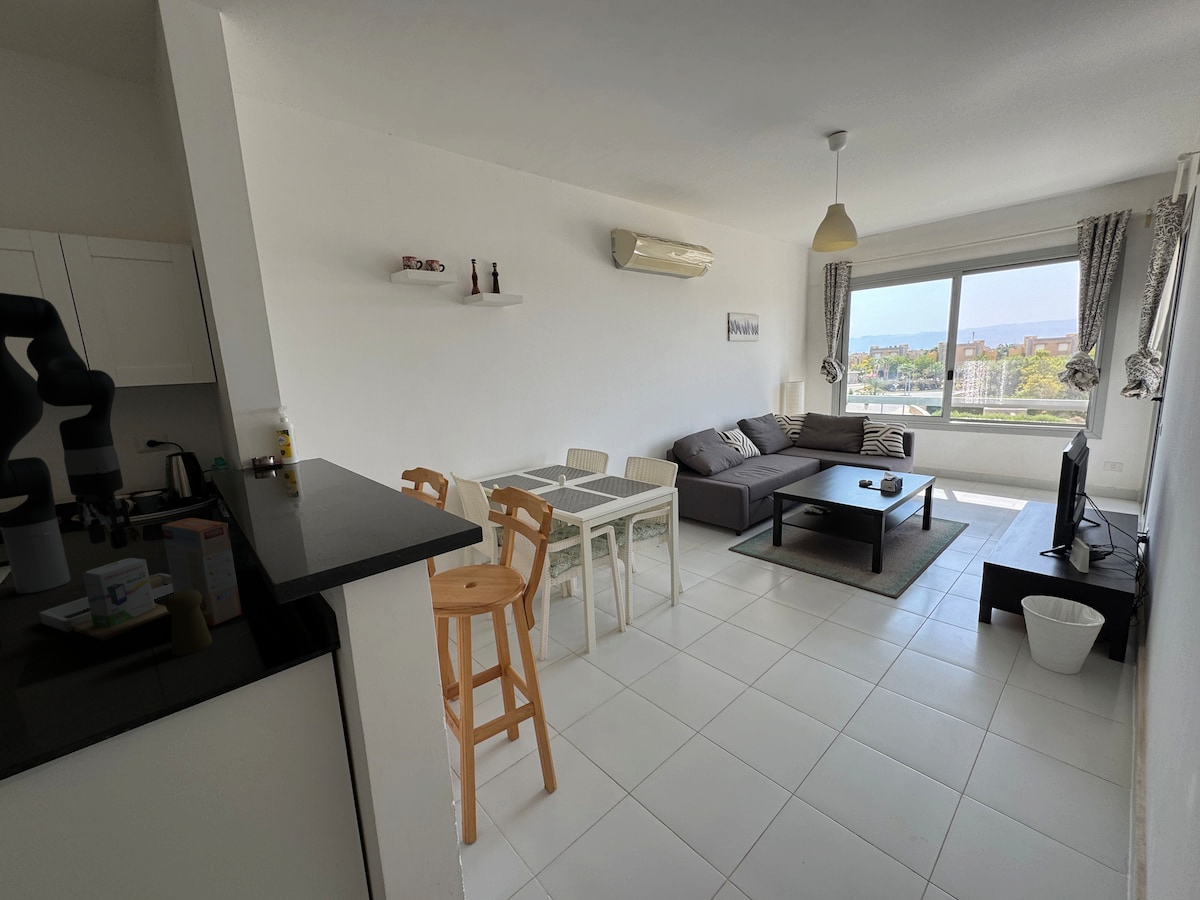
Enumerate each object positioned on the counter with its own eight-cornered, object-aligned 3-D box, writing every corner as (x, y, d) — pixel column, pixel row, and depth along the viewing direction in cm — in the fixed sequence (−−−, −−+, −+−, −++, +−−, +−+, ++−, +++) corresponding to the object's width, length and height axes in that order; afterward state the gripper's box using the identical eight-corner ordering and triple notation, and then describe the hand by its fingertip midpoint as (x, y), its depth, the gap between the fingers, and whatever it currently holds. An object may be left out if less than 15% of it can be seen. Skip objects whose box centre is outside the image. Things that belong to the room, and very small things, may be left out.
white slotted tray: (41, 623, 104) (38, 612, 103) (162, 582, 123) (160, 572, 123) (67, 632, 99) (65, 621, 99) (189, 588, 119) (187, 578, 119)
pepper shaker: (178, 659, 88) (167, 603, 86) (166, 650, 91) (155, 596, 89) (218, 643, 93) (208, 589, 91) (205, 635, 96) (195, 583, 94)
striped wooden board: (73, 630, 100) (72, 626, 100) (145, 604, 111) (144, 600, 111) (103, 641, 95) (102, 636, 95) (175, 612, 106) (174, 608, 106)
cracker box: (244, 614, 104) (228, 521, 101) (212, 628, 99) (195, 530, 96) (208, 603, 110) (192, 515, 107) (176, 615, 105) (158, 523, 101)
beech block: (134, 597, 115) (131, 581, 115) (155, 590, 119) (152, 574, 118) (143, 599, 114) (140, 583, 113) (164, 592, 117) (161, 576, 117)
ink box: (139, 606, 108) (129, 556, 106) (157, 608, 106) (146, 557, 105) (91, 626, 99) (79, 572, 98) (110, 628, 98) (98, 574, 96)
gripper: (50, 471, 97) (67, 547, 100) (86, 475, 91) (103, 556, 94) (100, 464, 104) (114, 535, 106) (136, 467, 98) (150, 543, 101)
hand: (109, 545), depth 100 cm, fingers open, 8 cm apart
